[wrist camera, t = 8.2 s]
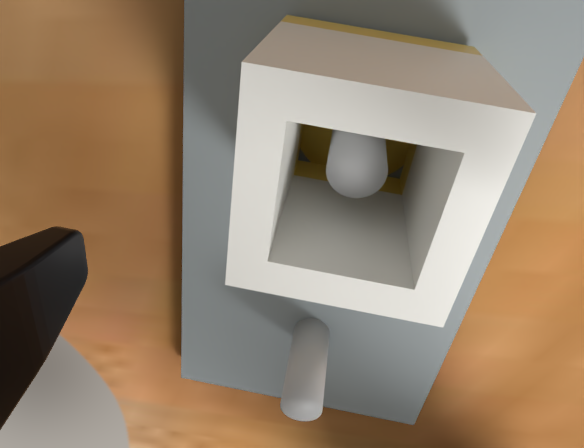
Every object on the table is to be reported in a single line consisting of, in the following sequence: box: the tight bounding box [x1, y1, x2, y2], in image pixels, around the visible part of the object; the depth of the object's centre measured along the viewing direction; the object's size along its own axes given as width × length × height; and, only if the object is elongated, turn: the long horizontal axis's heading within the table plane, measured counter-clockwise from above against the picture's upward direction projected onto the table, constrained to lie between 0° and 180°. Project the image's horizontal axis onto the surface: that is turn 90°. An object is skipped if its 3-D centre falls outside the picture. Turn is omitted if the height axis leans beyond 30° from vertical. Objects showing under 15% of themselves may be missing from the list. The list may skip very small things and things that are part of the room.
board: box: [181, 0, 584, 425], centre depth 17 cm, size 20×12×5 cm, turn 172°
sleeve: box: [225, 15, 536, 327], centre depth 13 cm, size 6×6×6 cm
